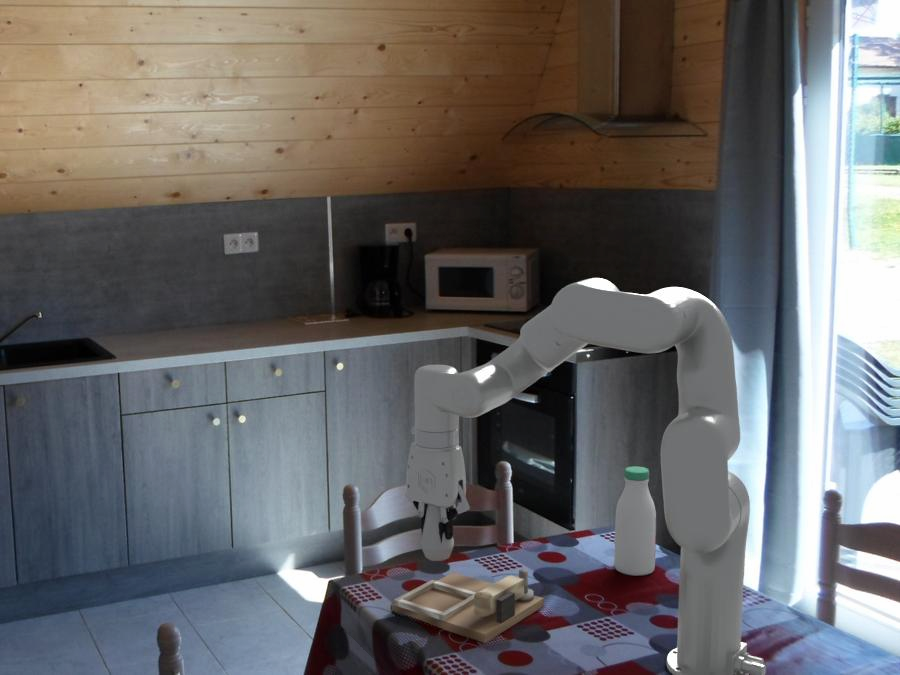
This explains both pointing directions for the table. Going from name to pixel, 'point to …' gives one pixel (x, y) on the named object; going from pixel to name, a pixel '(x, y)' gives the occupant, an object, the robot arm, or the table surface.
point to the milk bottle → (635, 525)
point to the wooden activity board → (466, 606)
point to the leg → (497, 594)
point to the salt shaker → (435, 536)
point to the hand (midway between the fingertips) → (437, 539)
